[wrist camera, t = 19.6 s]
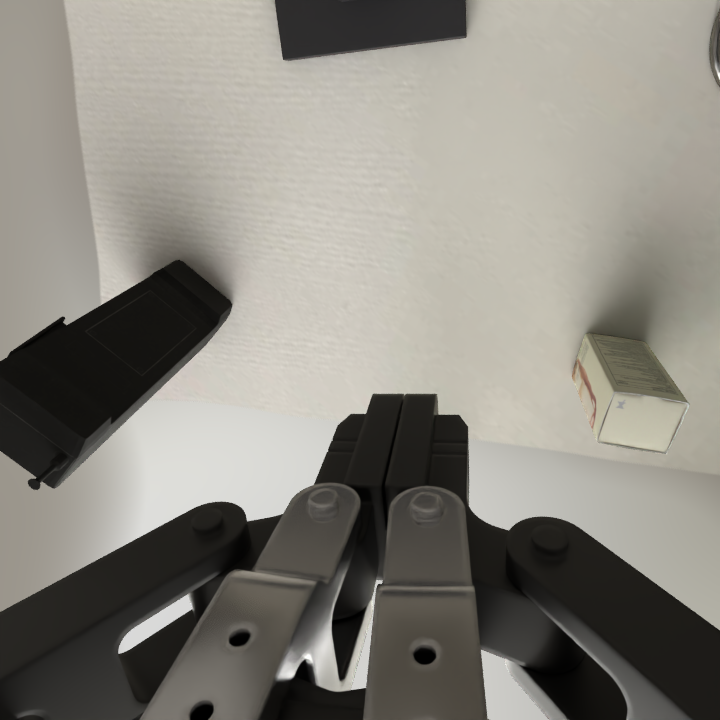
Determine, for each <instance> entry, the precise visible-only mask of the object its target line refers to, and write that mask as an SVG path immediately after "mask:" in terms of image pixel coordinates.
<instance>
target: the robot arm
mask: <svg viewBox="0 0 720 720" xmlns="http://www.w3.org/2000/svg"><path fill="white" fill-rule="evenodd" d="M709 55H710V64H711V69H712V72H713V75H714V78H715V80H716V82H717V84H718V85H719V87H720V10H719V12H718V14H717V17H716V19H715V22H714V25H713V29H712V33H711V38H710V48H709ZM468 453H469V450H468V426H467V425H466V424H465V422H464V421H463V420H462V418H461V417H460V416H459V415H438V400H437V394H406V395H405V396H404V394H373V395H372V398H371V401H370V404H369V407H368V410H367V413H366V414H351V415H349V416H348V417H347V418H346V419H345V420H344V421H342V422H341V423H340V424H339V425H338V427H337V429H336V432H335V434H334V436H333V441H332V442H331V444H330V446H329V449H328V452H327V454H326V456H325V459H324V462H323V464H322V466H321V469H320V471H319V474H318V476H317V479H316V481H315V483H314V485H313V486H310V487H308V488H305V489H303V490H302V491H300V492H299V493H297V494H296V495H295V496H294V497H293V498H292V500H291V501H290V503H289V505H288V506H287V508H286V510H285V512H284V514H282V515H279V516H274V517H270V518H264V519H259V520H254V521H248V522H247V520H246V515H245V512H244V510H243V509H242V508H241V507H239V506H238V505H235V504H233V503H229V502H213V503H207V504H204V505H201V506H198V507H196V508H194V509H192V510H190V511H188V512H186V513H184V514H182V515H180V516H178V517H177V518H175V519H173V520H171V521H169V522H168V523H165V524H164V525H162V526H160V527H158V528H156V529H154V530H152V531H151V532H149V533H147V534H145V535H143V536H141V537H140V538H137V539H136V540H134V541H132V542H130V543H128V544H126V545H125V546H123V547H121V548H119V549H117V550H115V551H113V552H111V553H110V554H108V555H106V556H104V557H102V558H100V559H98V560H96V561H95V562H93V563H91V564H89V565H87V566H85V567H84V568H82V569H80V570H78V571H76V572H74V573H72V574H70V575H69V576H67V577H65V578H63V579H61V580H59V581H57V582H56V583H54V584H52V585H50V586H48V587H46V588H44V589H42V590H41V591H39V592H37V593H35V594H33V595H31V596H30V597H28V598H26V599H24V600H22V601H20V602H18V603H16V604H14V605H13V606H11V607H9V608H7V609H5V610H4V611H2V612H0V720H489V719H487V710H486V699H485V689H484V679H483V669H482V658H481V649H482V650H484V651H487V652H489V653H492V654H494V655H497V656H500V657H502V658H504V659H505V664H506V667H507V669H508V671H509V673H510V675H511V676H512V677H513V679H514V680H515V681H516V682H517V683H518V685H519V686H520V687H521V688H522V689H523V690H524V691H525V693H526V694H527V695H528V696H529V697H530V698H531V699H532V701H533V702H534V703H535V704H536V705H537V706H538V707H539V708H540V710H541V711H542V712H543V713H544V714H545V715H546V717H547V718H548V719H549V720H720V630H718V629H717V628H715V627H714V626H713V625H711V624H710V623H709V622H707V621H706V620H705V619H703V618H702V617H701V616H699V615H698V614H696V613H695V612H694V611H692V610H691V609H690V608H688V607H687V606H685V605H684V604H683V603H681V602H680V601H679V600H677V599H676V598H675V597H673V596H672V595H670V594H669V593H668V592H666V591H665V590H663V589H662V588H661V587H659V586H658V585H657V584H655V583H654V582H653V581H651V580H650V579H649V578H647V577H646V576H644V575H643V574H642V573H640V572H639V571H638V570H636V569H635V568H633V567H632V566H631V565H629V564H628V563H627V562H625V561H624V560H623V559H621V558H620V557H618V556H617V555H615V554H614V553H613V552H612V551H610V550H609V549H608V548H606V547H605V546H603V545H602V544H601V543H599V542H598V541H597V540H595V539H594V538H592V537H591V536H590V535H588V534H587V533H585V532H584V531H583V530H582V529H580V528H579V527H577V526H575V525H574V524H572V523H570V522H567V521H564V520H561V519H557V518H553V517H532V518H528V519H525V520H522V521H520V522H518V523H517V524H515V525H514V526H513V527H512V528H511V529H510V530H509V531H508V530H505V529H501V528H498V527H495V526H492V525H490V524H488V523H486V522H484V521H483V520H481V519H479V518H478V517H477V516H476V515H475V514H474V513H473V512H472V511H471V509H470V508H469V454H468ZM376 580H383V583H382V584H378V586H377V589H376V597H375V605H374V616H373V626H372V635H371V645H370V656H369V665H368V675H367V686H366V688H363V689H357V690H351V686H352V683H353V679H354V676H355V672H356V669H357V665H358V662H359V658H360V655H361V652H362V648H363V644H364V641H365V637H366V634H367V631H368V627H369V623H370V620H371V617H372V612H373V609H372V608H373V606H372V595H373V592H374V587H375V582H376ZM187 594H188V596H189V600H190V603H191V606H192V610H191V611H189V612H187V613H186V614H185V615H183V616H181V617H180V618H178V619H176V620H175V621H173V622H172V623H170V624H169V625H167V626H166V627H164V628H162V629H161V630H159V631H158V632H156V633H155V634H153V635H152V636H150V637H149V638H147V639H145V640H144V641H142V642H141V643H139V644H138V645H136V646H135V647H133V648H132V649H130V650H128V651H126V652H124V653H121V654H118V648H119V645H120V643H121V641H122V639H123V638H124V636H125V635H126V634H127V633H128V632H129V631H130V630H131V629H133V628H134V627H136V626H137V625H139V624H141V623H142V622H144V621H145V620H147V619H149V618H150V617H152V616H153V615H155V614H157V613H158V612H160V611H161V610H163V609H164V608H166V607H168V606H169V605H171V604H172V603H174V602H176V601H177V600H179V599H180V598H182V597H184V596H185V595H187Z"/></svg>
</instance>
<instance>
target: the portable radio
mask: <svg viewBox="0 0 720 720" xmlns="http://www.w3.org/2000/svg"><path fill="white" fill-rule="evenodd" d="M231 308H232V303H231V301H229V300H228V299H227V298H226V297H225V296H223V295H222V294H221V293H220V292H219V291H217V290H216V289H215V288H214V287H213V286H211V285H210V284H209V283H208V282H207V281H205V280H204V279H203V278H202V277H201V276H199V275H198V274H197V273H196V272H195V271H193V270H192V269H191V268H190V267H189V266H187V265H186V264H185V263H184V262H183V261H181V260H176V261H174V262H172V263H171V264H169V265H167V266H165V267H164V268H162V269H160V270H158V271H156V272H154V273H153V274H152V275H151V276H150V277H148V278H146V279H145V280H143V281H141V282H140V283H138V284H136V285H135V286H133V287H131V288H130V289H128V290H126V291H125V292H123V293H121V294H119V295H118V296H116V297H114V298H113V299H111V300H109V301H108V302H106V303H104V304H102V305H101V306H99V307H98V308H96V309H94V310H92V311H91V312H89V313H87V314H85V315H84V316H82V317H80V318H79V319H77V320H75V321H74V322H72V323H70V324H68V325H65V324H64V323H63V321H64V319H65V317H61V318H59V319H58V320H57V321H55V322H54V323H52V324H51V325H49V326H48V327H46V328H45V329H43V330H42V331H40V332H39V333H38V334H36V335H35V336H33V337H32V338H30V339H29V340H27V341H26V342H24V343H23V344H22V345H20V346H19V347H17V348H16V349H14V350H13V351H11V352H10V353H9V355H8V357H7V358H5V359H4V360H2V361H0V451H1V452H3V453H4V454H5V455H7V456H8V457H10V458H11V459H12V460H14V461H15V462H16V463H18V464H19V465H20V466H22V467H23V468H24V469H26V470H27V471H29V472H30V473H31V474H33V475H34V476H35V477H37V478H36V479H30V480H29V481H28V484H29V486H30V487H31V488H32V489H35V490H38V489H39V488H40V482H44V483H45V484H46V485H48V486H50V487H52V488H56V487H58V486H59V485H60V484H61V483H62V482H63V481H64V480H65V479H66V478H68V476H70V475H71V474H72V473H73V472H74V471H75V470H76V469H77V468H78V467H79V466H80V465H81V464H82V463H83V462H84V461H85V460H86V459H87V458H88V457H89V456H90V455H91V454H92V453H94V451H96V450H97V449H98V448H99V447H100V446H101V445H102V444H103V443H104V442H105V441H106V440H107V439H108V438H109V437H110V436H111V435H112V434H113V433H114V432H115V431H116V430H117V429H118V428H120V426H122V424H124V423H125V422H126V421H127V420H128V419H129V418H130V417H131V416H132V415H133V414H134V413H135V412H136V411H137V410H138V409H139V408H140V407H141V406H142V405H143V404H144V403H146V402H147V401H148V400H149V399H150V398H151V397H152V396H153V395H154V394H155V393H156V392H157V391H158V390H159V389H160V388H161V387H162V386H163V385H164V384H165V383H167V382H168V381H169V380H170V379H171V378H172V377H173V376H174V375H175V374H176V373H177V372H178V371H179V370H180V369H181V368H182V367H183V366H184V365H185V364H187V363H188V362H189V361H190V360H191V359H192V358H193V357H194V356H195V355H196V354H197V353H198V352H199V351H200V350H201V349H202V348H204V346H205V345H206V344H207V343H208V341H209V340H210V339H211V338H212V337H213V335H214V334H215V333H216V332H217V330H218V329H219V328H220V327H221V326H222V324H223V323H224V322H225V321H226V319H227V317H228V316H229V314H230V311H231Z"/></svg>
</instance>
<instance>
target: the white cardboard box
mask: <svg viewBox="0 0 720 720" xmlns="http://www.w3.org/2000/svg"><path fill="white" fill-rule="evenodd" d="M572 378H573V381H574V383H575V386H576V389H577V391H578V394H579V396H580V399H581V402H582V404H583V407H584V410H585V412H586V415H587V417H588V420H589V423H590V425H591V428H592V430H593V433H594V435H595V438H596V441H597V442H598V443H602V444H608V445H612V446H617V447H623V448H628V449H634V450H640V451H647V452H654V453H662V454H666V453H667V452H668V450H669V448H670V446H671V444H672V442H673V440H674V438H675V436H676V434H677V432H678V430H679V428H680V426H681V424H682V421H683V419H684V417H685V415H686V412H687V410H688V408H689V403H688V401H687V400H686V399H685V397H684V396H683V394H682V393H681V391H680V390H679V389H678V387H677V386H676V384H675V383H674V381H673V380H672V379H671V377H670V376H669V374H668V373H667V372H666V370H665V369H664V367H663V366H662V365H661V363H660V362H659V360H658V359H657V357H656V356H655V355H654V353H653V352H652V350H651V349H650V347H649V346H648V345H647V343H646V342H642V341H636V340H631V339H625V338H618V337H612V336H605V335H598V334H589V333H586V334H585V337H584V340H583V342H582V345H581V348H580V351H579V354H578V357H577V360H576V363H575V367H574V370H573V374H572Z"/></svg>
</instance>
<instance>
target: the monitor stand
mask: <svg viewBox="0 0 720 720" xmlns="http://www.w3.org/2000/svg"><path fill="white" fill-rule="evenodd" d="M275 5H276V12H277V20H278V27H279V34H280V41H281V48H282V55H283V60H287V61H290V60H297V59H305V58H313V57H321V56H328V55H336V54H344V53H351V52H359V51H367V50H375V49H382V48H390V47H398V46H406V45H413V44H421V43H429V42H437V41H444V40H452V39H460V38H466V0H275Z"/></svg>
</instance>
